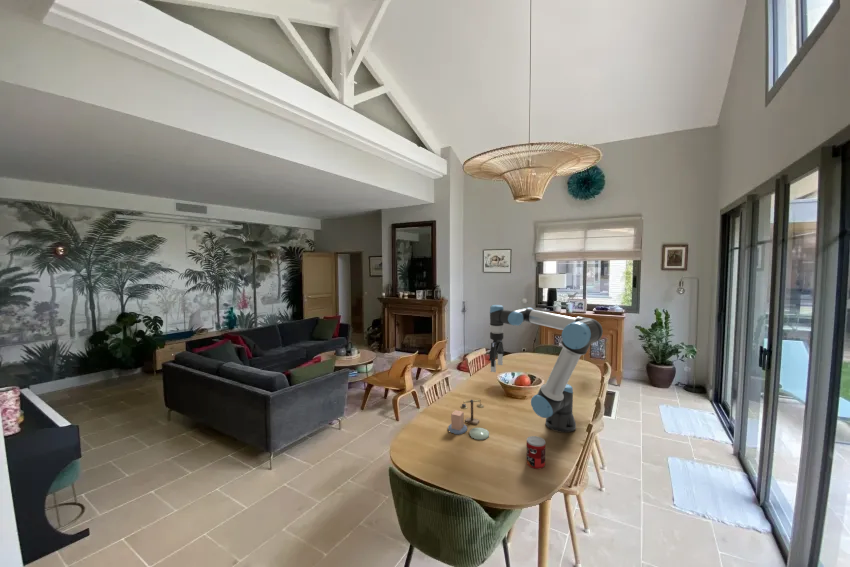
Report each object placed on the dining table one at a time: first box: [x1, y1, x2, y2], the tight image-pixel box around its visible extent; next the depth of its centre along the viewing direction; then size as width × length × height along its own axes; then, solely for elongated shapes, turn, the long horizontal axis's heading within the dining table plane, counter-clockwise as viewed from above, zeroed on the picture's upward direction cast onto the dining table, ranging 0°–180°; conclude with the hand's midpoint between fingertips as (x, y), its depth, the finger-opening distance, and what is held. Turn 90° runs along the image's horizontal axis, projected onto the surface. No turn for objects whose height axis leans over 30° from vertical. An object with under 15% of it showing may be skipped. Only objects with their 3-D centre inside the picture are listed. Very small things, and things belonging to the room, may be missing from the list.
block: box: [450, 409, 465, 430], centre depth 187 cm, size 5×5×8 cm
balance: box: [459, 399, 485, 426], centre depth 195 cm, size 14×4×14 cm, turn 62°
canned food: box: [525, 435, 546, 470], centre depth 156 cm, size 8×8×11 cm
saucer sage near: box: [468, 427, 490, 441], centre depth 182 cm, size 10×10×1 cm
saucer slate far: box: [447, 423, 468, 435], centre depth 188 cm, size 10×10×1 cm
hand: (496, 368), depth 204 cm, fingers open, 13 cm apart
